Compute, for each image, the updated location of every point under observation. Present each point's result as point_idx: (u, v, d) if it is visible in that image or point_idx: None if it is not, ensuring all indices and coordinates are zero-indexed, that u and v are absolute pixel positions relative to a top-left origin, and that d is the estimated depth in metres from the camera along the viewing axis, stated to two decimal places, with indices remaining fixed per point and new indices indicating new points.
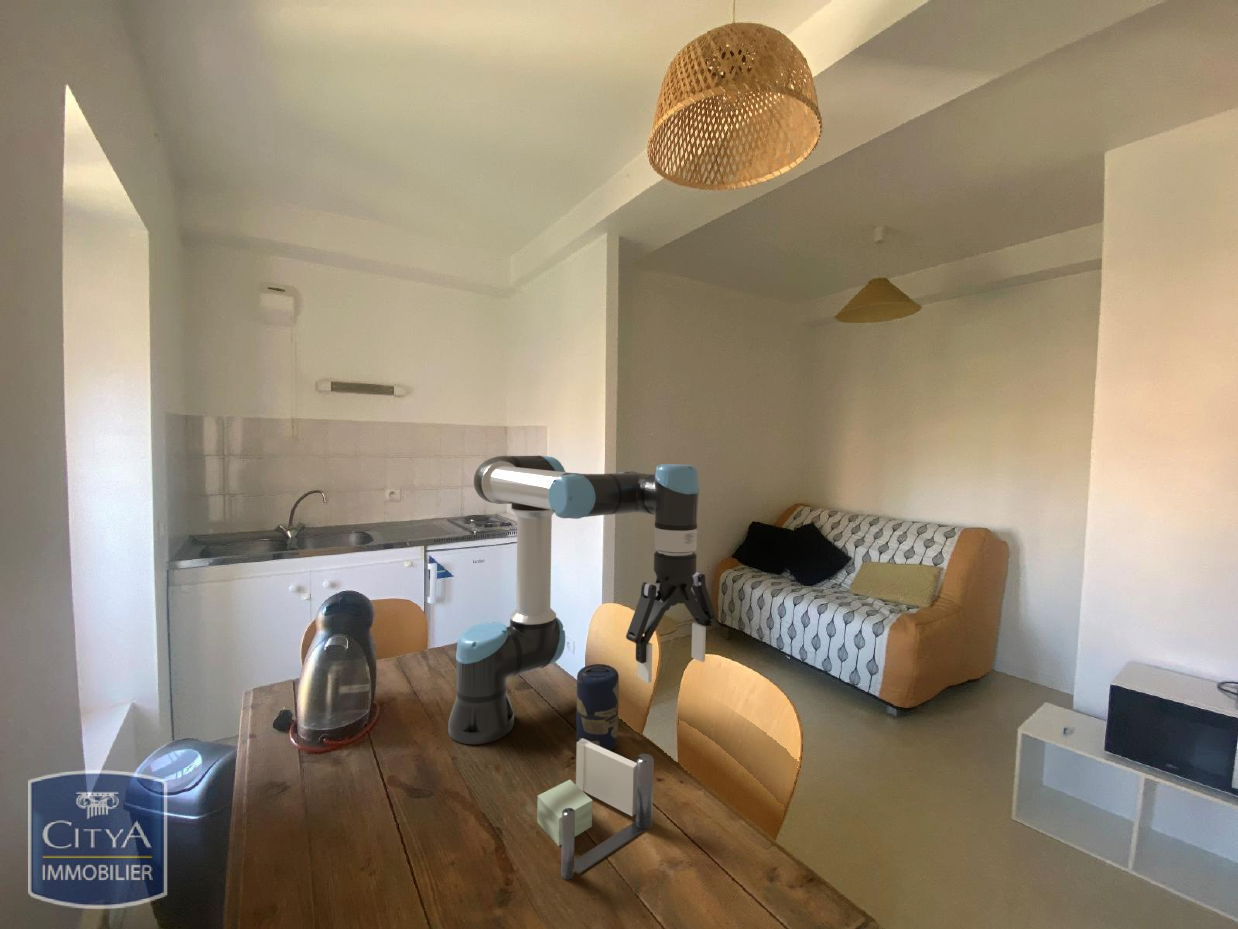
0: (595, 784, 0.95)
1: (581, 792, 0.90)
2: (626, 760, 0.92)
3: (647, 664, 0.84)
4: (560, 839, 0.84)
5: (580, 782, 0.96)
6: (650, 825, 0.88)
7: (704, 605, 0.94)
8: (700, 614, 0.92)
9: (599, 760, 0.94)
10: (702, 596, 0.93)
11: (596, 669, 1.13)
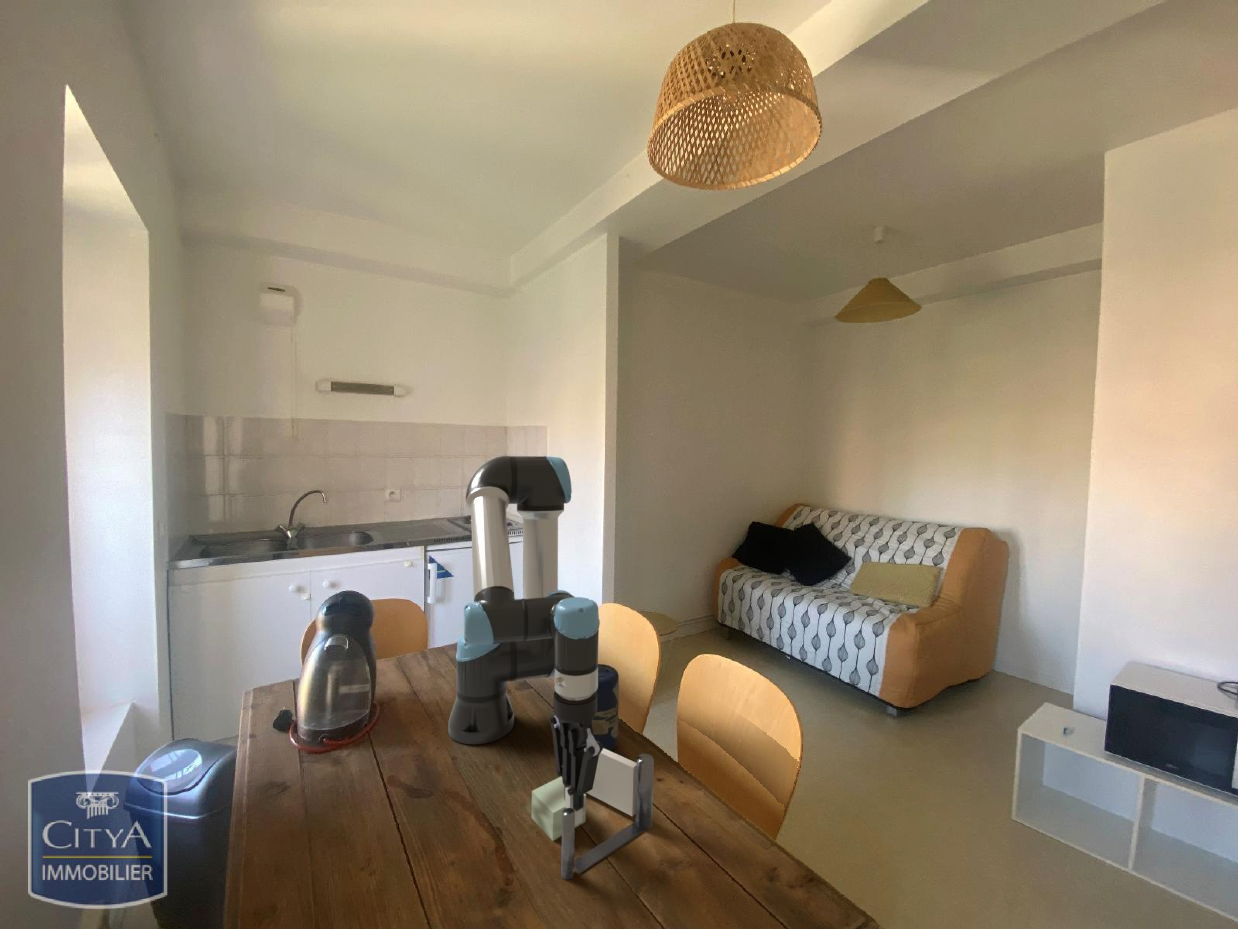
0: (595, 784, 0.95)
1: None
2: (626, 760, 0.92)
3: None
4: (554, 833, 0.85)
5: None
6: (650, 825, 0.88)
7: None
8: (572, 773, 0.85)
9: (599, 760, 0.94)
10: None
11: None
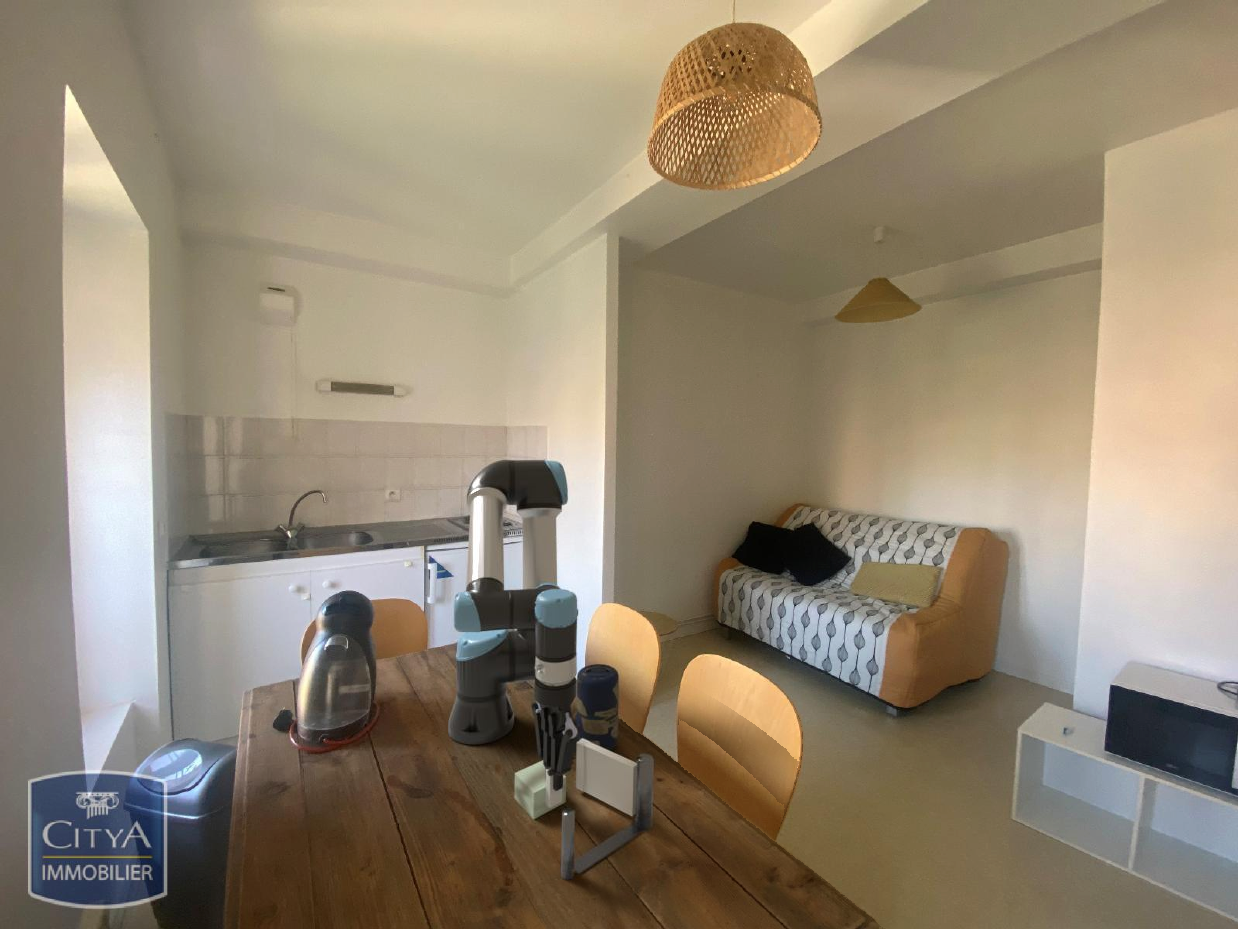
0: (595, 784, 0.95)
1: None
2: (626, 760, 0.92)
3: None
4: (535, 812, 0.90)
5: (580, 782, 0.96)
6: (650, 825, 0.88)
7: None
8: (552, 755, 0.90)
9: (599, 760, 0.94)
10: None
11: (596, 669, 1.13)
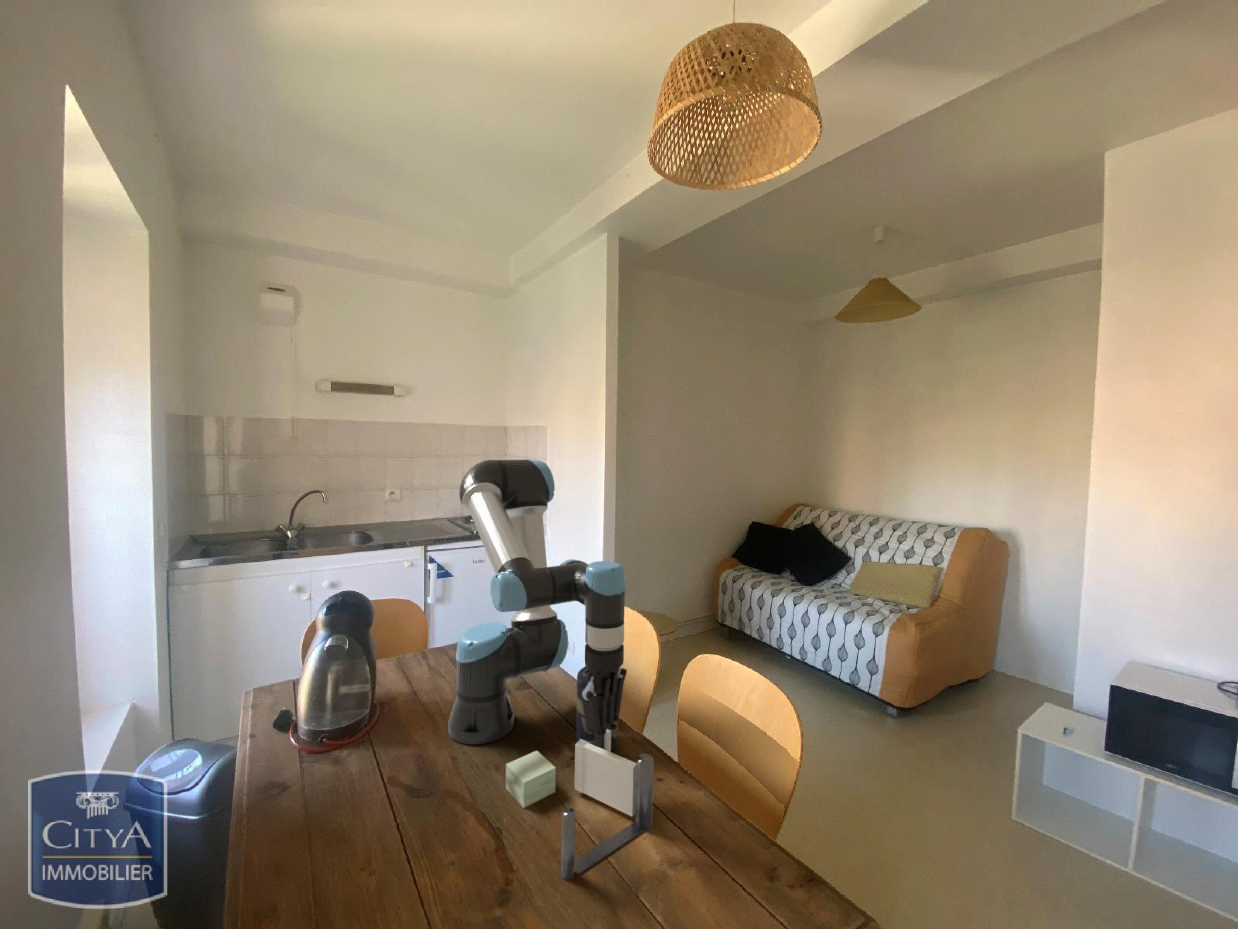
0: (594, 785, 0.94)
1: (546, 761, 0.99)
2: (626, 761, 0.91)
3: None
4: (525, 801, 0.93)
5: (578, 783, 0.96)
6: (650, 825, 0.88)
7: None
8: None
9: (598, 761, 0.94)
10: None
11: None
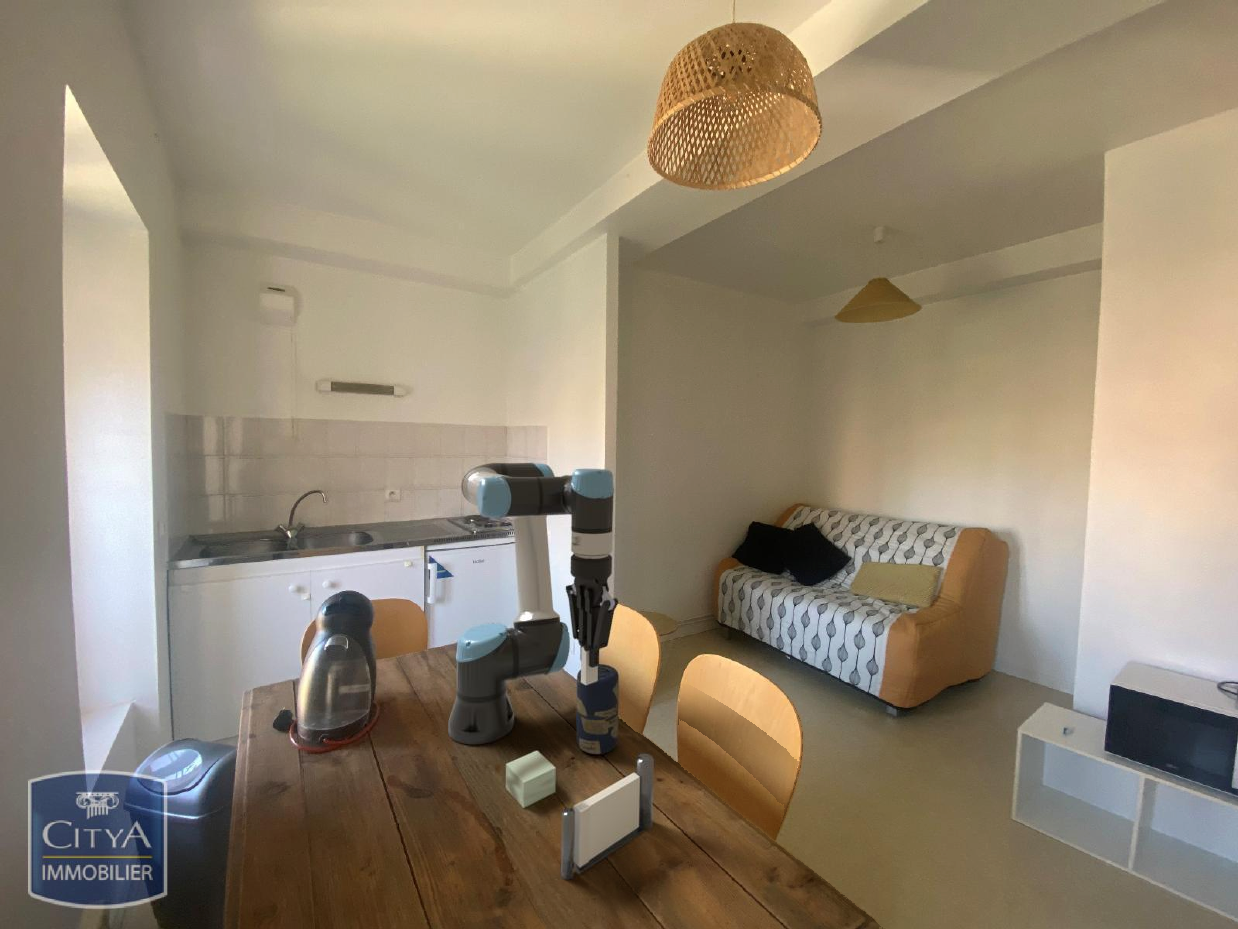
0: (602, 837, 0.82)
1: (546, 761, 0.99)
2: (626, 779, 0.86)
3: None
4: (525, 801, 0.93)
5: (585, 854, 0.79)
6: (650, 825, 0.88)
7: None
8: (588, 631, 0.90)
9: (606, 806, 0.82)
10: None
11: None
